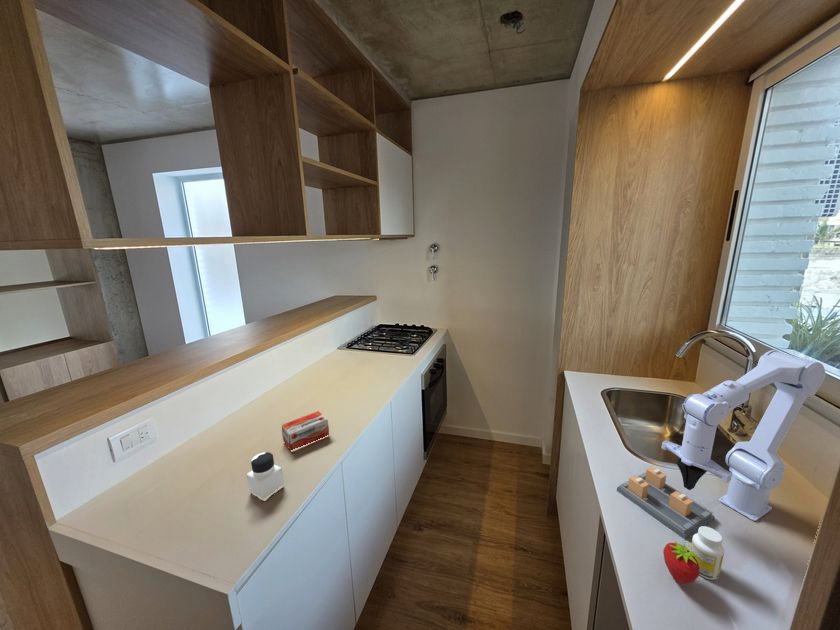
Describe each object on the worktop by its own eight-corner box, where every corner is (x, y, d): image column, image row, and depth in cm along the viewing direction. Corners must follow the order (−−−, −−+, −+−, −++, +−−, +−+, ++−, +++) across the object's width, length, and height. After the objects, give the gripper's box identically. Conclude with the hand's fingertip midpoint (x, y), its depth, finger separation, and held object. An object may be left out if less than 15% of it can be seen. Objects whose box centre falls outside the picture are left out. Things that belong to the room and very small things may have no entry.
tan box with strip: (673, 503, 92) (676, 489, 90) (690, 513, 88) (693, 499, 87) (668, 506, 90) (670, 492, 89) (684, 517, 87) (687, 502, 86)
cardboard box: (650, 478, 101) (652, 465, 100) (664, 486, 97) (666, 473, 96) (644, 480, 100) (647, 467, 99) (658, 489, 96) (661, 476, 95)
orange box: (633, 486, 98) (635, 473, 97) (647, 496, 94) (649, 482, 93) (627, 489, 97) (629, 476, 96) (641, 499, 93) (643, 485, 92)
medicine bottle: (284, 487, 103) (279, 453, 101) (264, 503, 98) (258, 467, 95) (270, 479, 107) (265, 446, 104) (249, 494, 101) (243, 459, 98)
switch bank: (644, 476, 104) (645, 470, 103) (713, 520, 88) (715, 513, 87) (616, 490, 98) (617, 484, 98) (684, 539, 83) (686, 532, 82)
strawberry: (683, 566, 76) (690, 531, 74) (702, 601, 69) (711, 563, 67) (654, 561, 77) (660, 526, 75) (669, 595, 70) (677, 557, 68)
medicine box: (291, 453, 119) (288, 434, 118) (283, 443, 125) (280, 424, 124) (330, 436, 129) (328, 418, 127) (321, 428, 135) (319, 410, 133)
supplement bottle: (704, 556, 78) (711, 522, 76) (725, 580, 73) (734, 544, 71) (681, 558, 78) (688, 523, 76) (701, 581, 73) (709, 545, 70)
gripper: (657, 430, 88) (650, 474, 91) (724, 464, 75) (713, 513, 78) (673, 423, 91) (666, 466, 94) (741, 454, 78) (729, 503, 81)
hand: (688, 487), depth 86 cm, fingers closed
